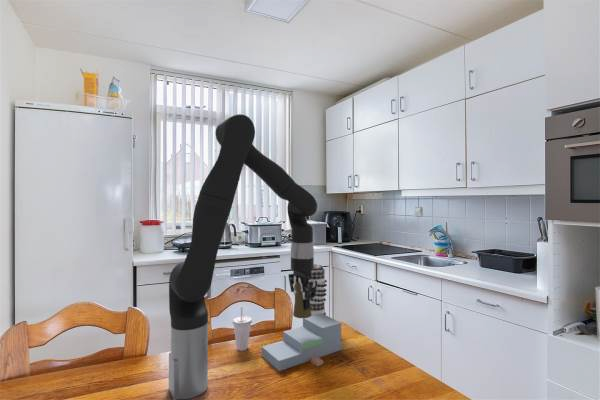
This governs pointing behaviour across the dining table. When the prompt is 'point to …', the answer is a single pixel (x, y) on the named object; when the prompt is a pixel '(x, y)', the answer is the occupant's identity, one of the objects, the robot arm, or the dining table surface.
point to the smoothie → (242, 331)
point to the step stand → (305, 342)
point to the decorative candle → (318, 291)
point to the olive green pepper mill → (300, 303)
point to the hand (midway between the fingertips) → (302, 308)
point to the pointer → (316, 361)
